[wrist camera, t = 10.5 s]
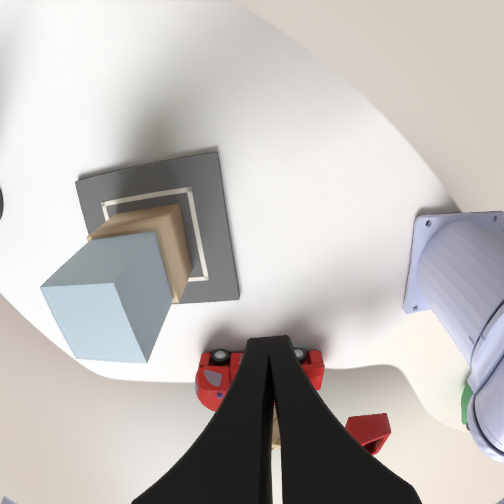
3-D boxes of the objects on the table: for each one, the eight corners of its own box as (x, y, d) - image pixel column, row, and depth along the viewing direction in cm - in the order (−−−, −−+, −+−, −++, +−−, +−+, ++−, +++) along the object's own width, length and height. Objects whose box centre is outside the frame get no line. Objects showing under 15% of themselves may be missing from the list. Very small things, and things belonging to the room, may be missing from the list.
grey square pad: (217, 151, 17) (216, 152, 16) (239, 296, 21) (239, 300, 21) (77, 180, 17) (74, 181, 17) (115, 303, 22) (113, 306, 21)
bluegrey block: (173, 298, 16) (147, 363, 11) (112, 301, 16) (76, 358, 12) (155, 230, 14) (113, 282, 10) (91, 239, 14) (39, 287, 10)
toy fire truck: (197, 347, 23) (174, 449, 15) (362, 342, 23) (396, 438, 14) (203, 373, 25) (185, 468, 16) (355, 368, 24) (381, 459, 16)
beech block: (179, 203, 18) (159, 226, 14) (192, 268, 20) (179, 302, 16) (116, 213, 18) (86, 237, 14) (133, 273, 20) (111, 305, 16)
